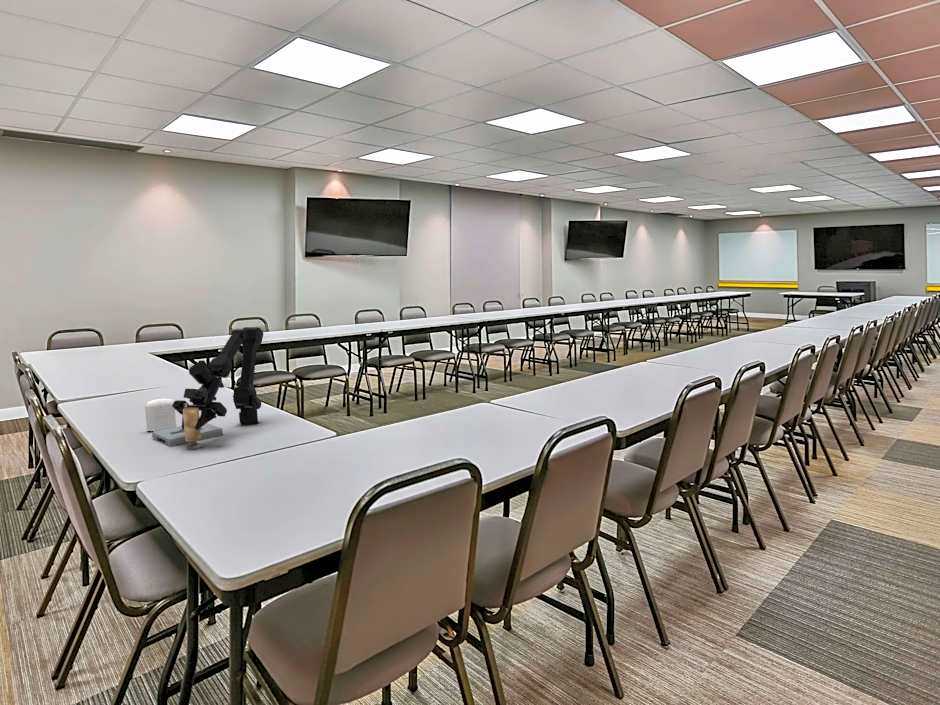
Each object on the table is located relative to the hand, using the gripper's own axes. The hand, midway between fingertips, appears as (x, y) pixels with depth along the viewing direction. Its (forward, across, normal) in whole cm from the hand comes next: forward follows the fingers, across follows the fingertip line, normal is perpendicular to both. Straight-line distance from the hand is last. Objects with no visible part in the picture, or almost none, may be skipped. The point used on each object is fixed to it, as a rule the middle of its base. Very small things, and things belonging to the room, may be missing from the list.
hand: (189, 429), depth 201 cm
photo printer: (-9, -29, +19) cm, 36 cm away
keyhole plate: (-4, -12, +14) cm, 19 cm away
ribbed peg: (+4, 0, +6) cm, 7 cm away
